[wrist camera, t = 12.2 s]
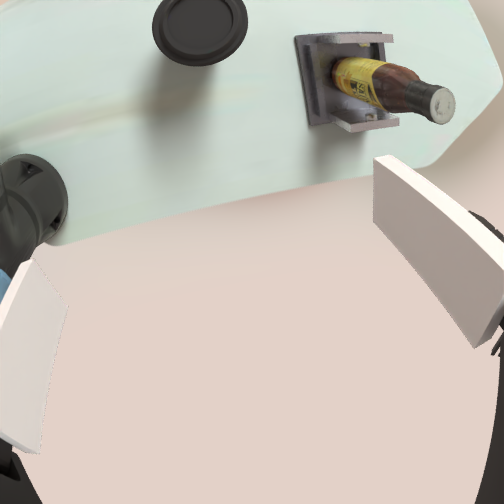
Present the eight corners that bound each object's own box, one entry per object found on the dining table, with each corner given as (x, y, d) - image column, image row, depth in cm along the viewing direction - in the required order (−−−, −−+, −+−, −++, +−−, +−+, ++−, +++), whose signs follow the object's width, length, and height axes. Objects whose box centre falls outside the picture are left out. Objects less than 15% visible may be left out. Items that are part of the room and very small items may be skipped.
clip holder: (309, 124, 43) (330, 138, 37) (294, 35, 35) (316, 33, 28) (386, 112, 44) (415, 125, 38) (379, 32, 35) (409, 33, 29)
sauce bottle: (322, 79, 38) (407, 108, 23) (343, 47, 36) (437, 60, 20) (354, 103, 41) (442, 145, 26) (374, 73, 39) (469, 102, 23)
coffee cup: (245, 32, 34) (273, 22, 22) (196, 76, 36) (200, 86, 24) (198, -9, 29) (203, -40, 17) (148, 37, 31) (127, 27, 19)
